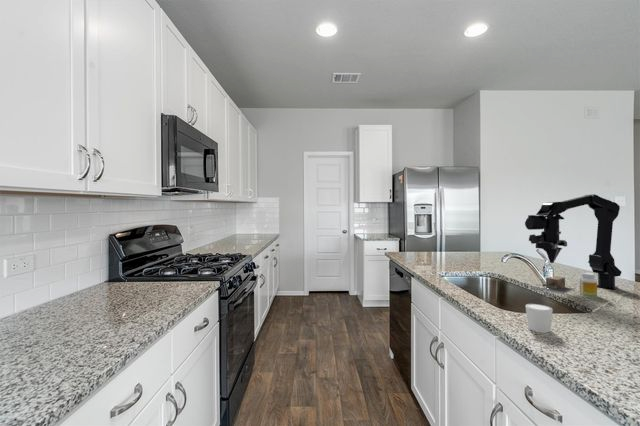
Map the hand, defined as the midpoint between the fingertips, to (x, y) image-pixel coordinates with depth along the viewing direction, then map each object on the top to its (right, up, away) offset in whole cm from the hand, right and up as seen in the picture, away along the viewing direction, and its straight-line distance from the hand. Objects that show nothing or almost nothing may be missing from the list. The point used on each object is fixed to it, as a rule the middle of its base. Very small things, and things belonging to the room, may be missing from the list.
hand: (551, 262), depth 137 cm
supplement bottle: (+5, -12, -13) cm, 19 cm away
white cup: (-39, -13, -45) cm, 61 cm away
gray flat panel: (-1, -12, -1) cm, 12 cm away
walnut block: (-1, -9, -2) cm, 10 cm away
